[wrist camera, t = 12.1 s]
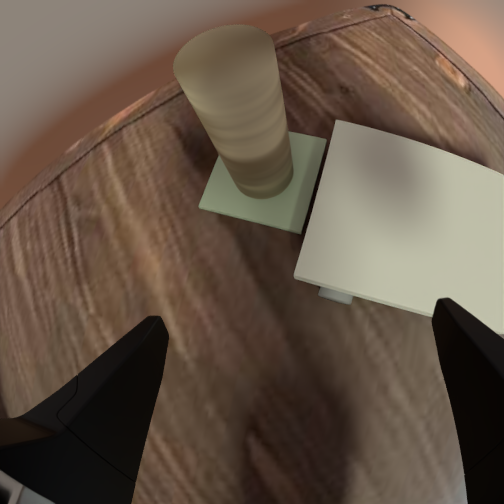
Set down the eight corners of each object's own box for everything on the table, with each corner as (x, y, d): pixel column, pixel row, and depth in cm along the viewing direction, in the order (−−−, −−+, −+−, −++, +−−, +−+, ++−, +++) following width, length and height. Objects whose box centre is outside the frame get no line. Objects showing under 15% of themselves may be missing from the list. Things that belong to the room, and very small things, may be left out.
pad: (301, 234, 24) (300, 232, 23) (200, 208, 26) (198, 206, 26) (326, 142, 25) (326, 139, 25) (233, 125, 27) (232, 122, 27)
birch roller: (305, 180, 24) (294, 57, 12) (250, 210, 25) (193, 105, 12) (274, 136, 26) (244, 14, 13) (223, 164, 26) (161, 54, 14)
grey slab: (479, 340, 19) (504, 340, 15) (294, 290, 23) (291, 282, 19) (496, 194, 21) (517, 176, 18) (334, 142, 25) (337, 114, 21)
